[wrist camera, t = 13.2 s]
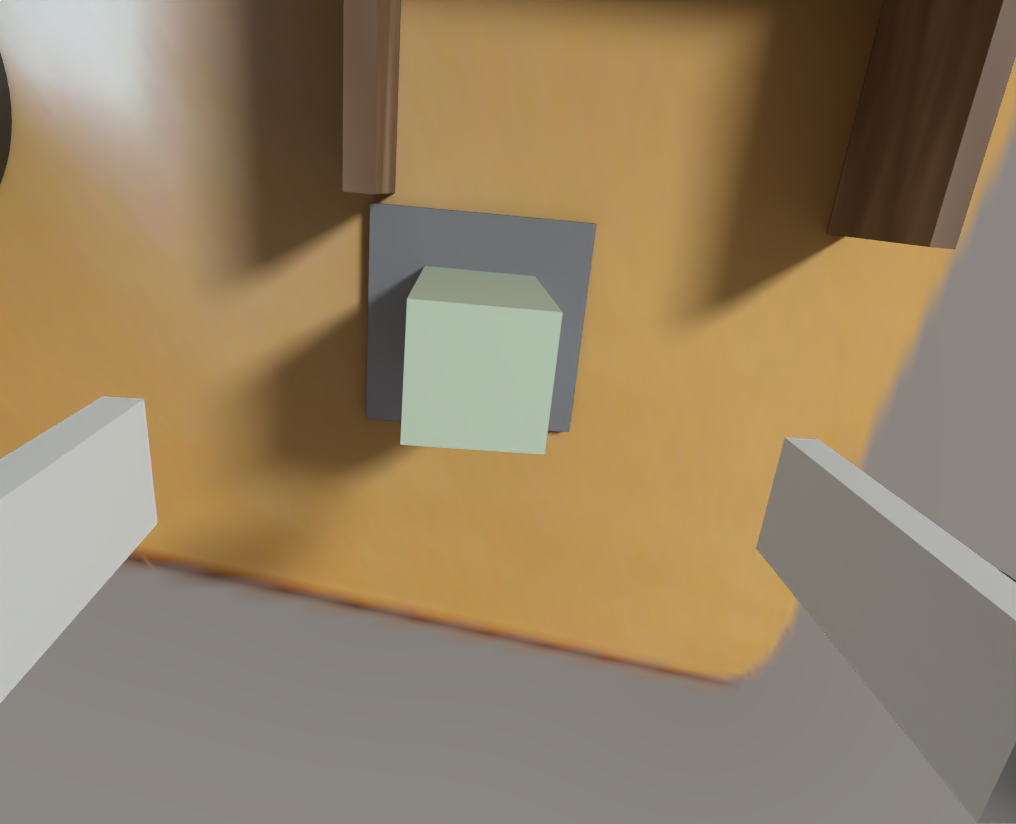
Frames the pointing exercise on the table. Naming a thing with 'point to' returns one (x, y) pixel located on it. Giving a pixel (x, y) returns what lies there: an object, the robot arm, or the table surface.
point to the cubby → (875, 135)
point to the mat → (480, 247)
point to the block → (479, 361)
